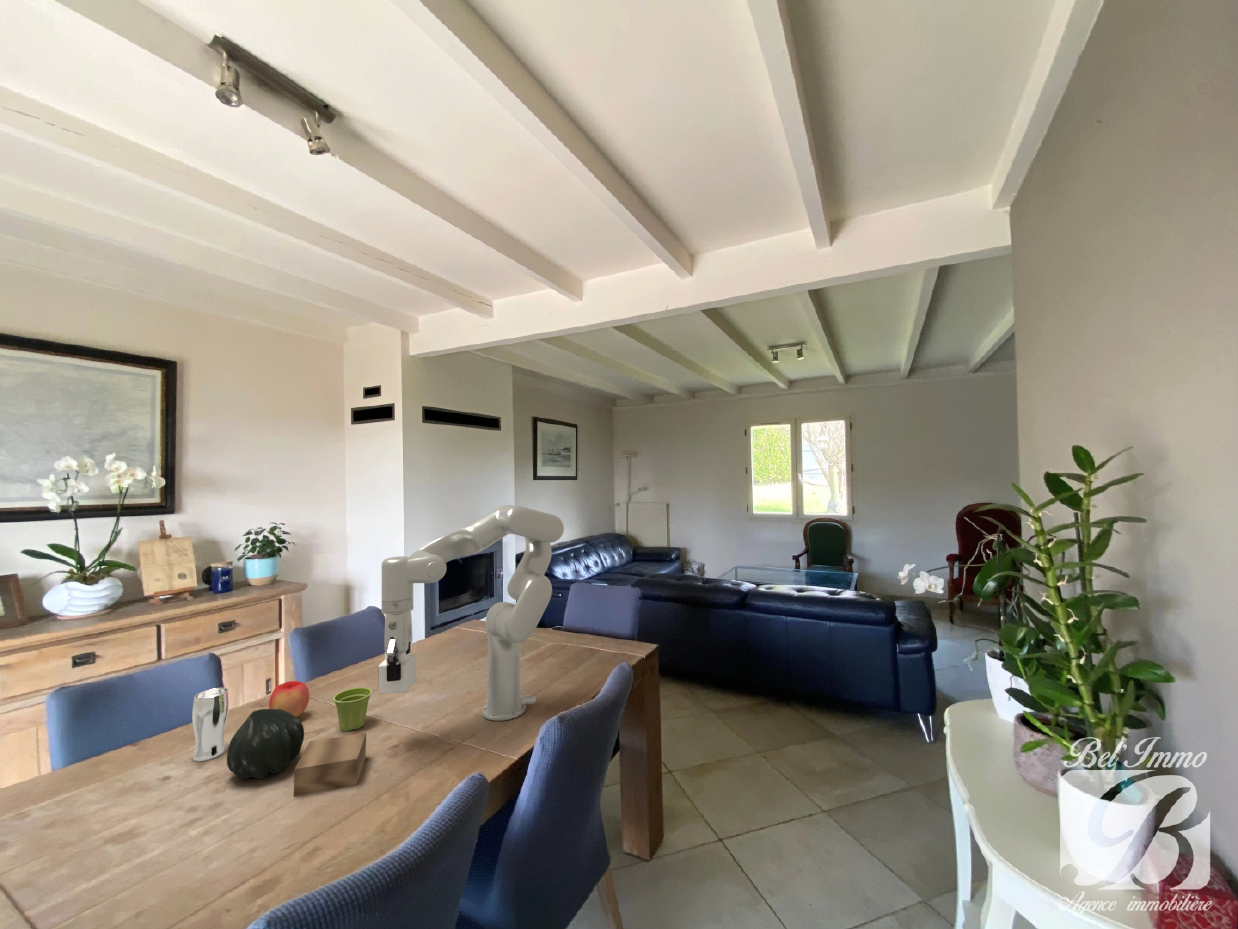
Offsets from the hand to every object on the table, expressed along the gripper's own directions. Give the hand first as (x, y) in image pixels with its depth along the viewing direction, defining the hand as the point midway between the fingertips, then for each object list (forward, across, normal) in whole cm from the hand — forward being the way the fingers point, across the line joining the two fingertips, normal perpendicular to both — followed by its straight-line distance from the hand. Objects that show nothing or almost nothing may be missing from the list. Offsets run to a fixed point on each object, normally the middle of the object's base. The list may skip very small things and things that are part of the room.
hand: (397, 673), depth 124 cm
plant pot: (+18, +14, +15) cm, 27 cm away
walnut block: (+18, -10, +12) cm, 24 cm away
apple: (+18, +22, +34) cm, 44 cm away
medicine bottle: (+4, 0, 0) cm, 4 cm away
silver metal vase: (+17, +6, +45) cm, 48 cm away
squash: (+18, -4, +28) cm, 33 cm away
